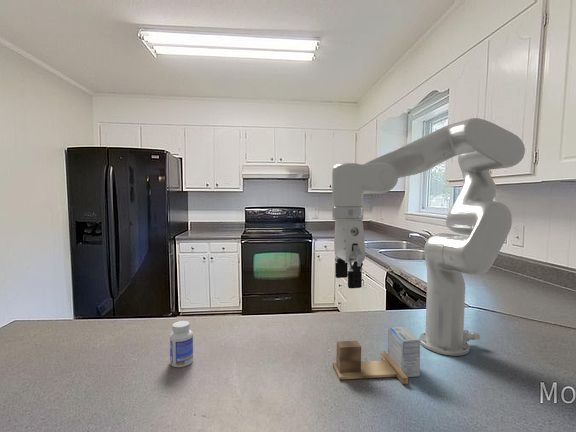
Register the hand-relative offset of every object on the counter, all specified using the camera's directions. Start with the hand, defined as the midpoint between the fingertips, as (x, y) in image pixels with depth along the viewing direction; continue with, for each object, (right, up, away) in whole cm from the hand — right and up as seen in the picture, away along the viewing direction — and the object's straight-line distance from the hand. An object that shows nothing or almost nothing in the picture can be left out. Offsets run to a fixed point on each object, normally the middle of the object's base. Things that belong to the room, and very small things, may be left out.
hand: (347, 282), depth 76 cm
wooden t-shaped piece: (+3, -20, -4) cm, 21 cm away
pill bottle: (-41, -20, -1) cm, 46 cm away
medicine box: (+13, -21, -2) cm, 24 cm away
